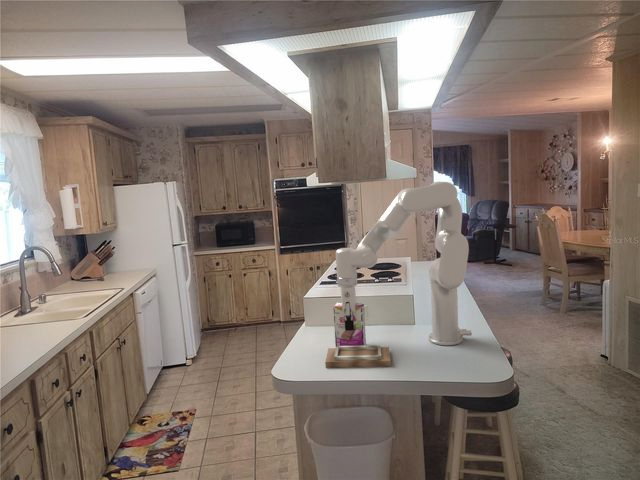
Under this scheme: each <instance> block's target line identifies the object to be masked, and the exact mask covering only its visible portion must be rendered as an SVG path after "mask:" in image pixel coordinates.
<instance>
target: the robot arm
mask: <svg viewBox="0 0 640 480" xmlns="http://www.w3.org/2000/svg"><path fill="white" fill-rule="evenodd" d="M435 209H436V210H437V211H436V212H437V226H436V233H435V234H436V235H435V239H434V246H435V249H436V251H437V252H438V253H440V255H439V256H440V257H438V258H436V259H434V260H433V261H432V262H431V264H430V265H429V267H428V268H429V269H428V274H429V275H428V276H429V283H430V294H431V295H430V296H431V323H432V325H431V326H432V327H431V330H432V331H431V333H430V334H429V335H428V341H429V342H431V343H432V344H434V345H438V346H439V345H440V346H455V345H458V344H461V343H462V342H463V340H464V336H466V337H467V336H472V333H473V332H472V329H471V330H469V329H468V330H467V328H460V327H459V316H458V315H459V309H458V307H459V302H458V300H459V299H458V288H459V287H461V285H462V284H463V283H464V281H465V278H466V274H467V265H468V258H469V253H470V251H469V249H470V248H469V241H468V239H467V237H465V235H463V234H462V223H463V208H462V204H461V203H460V200H459V198H458V190H457V188H456V186H455V185H454V184H453V183H451V182H449V181H435V182H432V183H430V184H429V185H425V186H421V187H420V186H418V187H413V188H412V187H406V188H403V189H401V190H400V191H399V192H398V193H397V195H396V196H395V197H394V198H393V200H392V201H391V203H390V204H389V205H388V207H387V208H386V210H385V211H384V212H383V213H382V215H381V217H380V218H379V219H378V220H377V221H376V223H375V224H374V225H373V226H372V227H371V228H370V229H369V231H368V232H367V233H366V234H365V236H364V237H363V238H362V240H361V241H360V243H359V244H358V245H357V247H356V248H355V249H354V248H352V247H341V248H338V249H337V250H336V251H335V265H336V268H335V269H336V283H337V284H336V285H337V287H340V297H341V303H342V308H343V312H344V313H345V330H346V331H353V330H354V322H353V317H352V312H354V313H355V312H356V303H357V296H356V286H358V274H357V273H358V272H357V268H360V269H370V268H372V267H374V266H376V264H377V262H378V254H377V252H378V251H379V250H380V249H381V247H382V246H383V245H384V243H386V242H387V241H388V240H389V239H391V238H393V237H395V236H396V235H397V234H398V233H399V232H400V231H401V230H402V228H403V227H404V225H405V224H406V223H407V222H408V220H409V218H411V216H412V215H413V213H420V212H421V213H422V212H426V211H430V210H435ZM350 310H351V312H350ZM350 314H351V315H350Z"/></svg>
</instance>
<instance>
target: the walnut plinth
mask: <svg viewBox="0 0 640 480" xmlns="http://www.w3.org/2000/svg"><path fill="white" fill-rule="evenodd" d="M391 361H392V360H391V354H390V347H389V346H381V345H378V344H377V345H376V344H375V345H374V344H373V345H372V344H371V345H368V344H367V345H365V346H339V347H336V346H335V348H333V347H331V348H327V353H326V358H325V362H324V363H325V364H324V365H325V368H327V369H329V368H372V367H373V368H376V367H377V368H379V367H380V368H381V367H387V368H388V367H389V368H390V367H392V366H391V365H392V363H391Z"/></svg>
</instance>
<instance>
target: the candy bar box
mask: <svg viewBox="0 0 640 480" xmlns="http://www.w3.org/2000/svg"><path fill="white" fill-rule="evenodd" d="M350 312H351V310H350ZM365 312H366V311H365V303H361V302H360V303H357V302H356V312H355V313H354V312H352V317H353V322H354V330H353V331H346V330H345V313H344V312H343V308H342V302H335V304H334V305H333V322H334V324H333V325H334V341H335V342H334V343H335V348H336V347H339V346H366V344H367V337H366V318H365V317H366V315H365ZM350 315H351V314H350Z"/></svg>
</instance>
